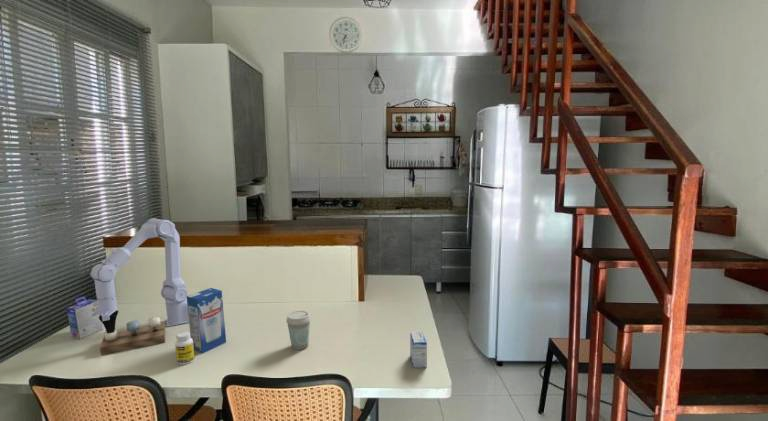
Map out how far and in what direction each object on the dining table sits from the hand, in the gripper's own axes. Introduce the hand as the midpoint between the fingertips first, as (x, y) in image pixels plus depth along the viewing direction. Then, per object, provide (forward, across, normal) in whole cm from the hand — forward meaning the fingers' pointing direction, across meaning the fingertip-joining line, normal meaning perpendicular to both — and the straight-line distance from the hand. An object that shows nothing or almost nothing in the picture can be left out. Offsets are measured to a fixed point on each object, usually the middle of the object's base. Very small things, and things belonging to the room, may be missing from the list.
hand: (111, 332), depth 153 cm
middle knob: (+2, 0, +7) cm, 7 cm away
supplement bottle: (+6, +25, +24) cm, 35 cm away
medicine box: (+6, +64, +92) cm, 112 cm away
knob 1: (+4, 0, 0) cm, 4 cm away
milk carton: (+6, +17, +32) cm, 36 cm away
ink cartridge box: (+6, -19, -10) cm, 22 cm away
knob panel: (+6, 0, +7) cm, 9 cm away
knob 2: (+2, 0, +14) cm, 14 cm away
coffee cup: (+6, +34, +60) cm, 70 cm away
